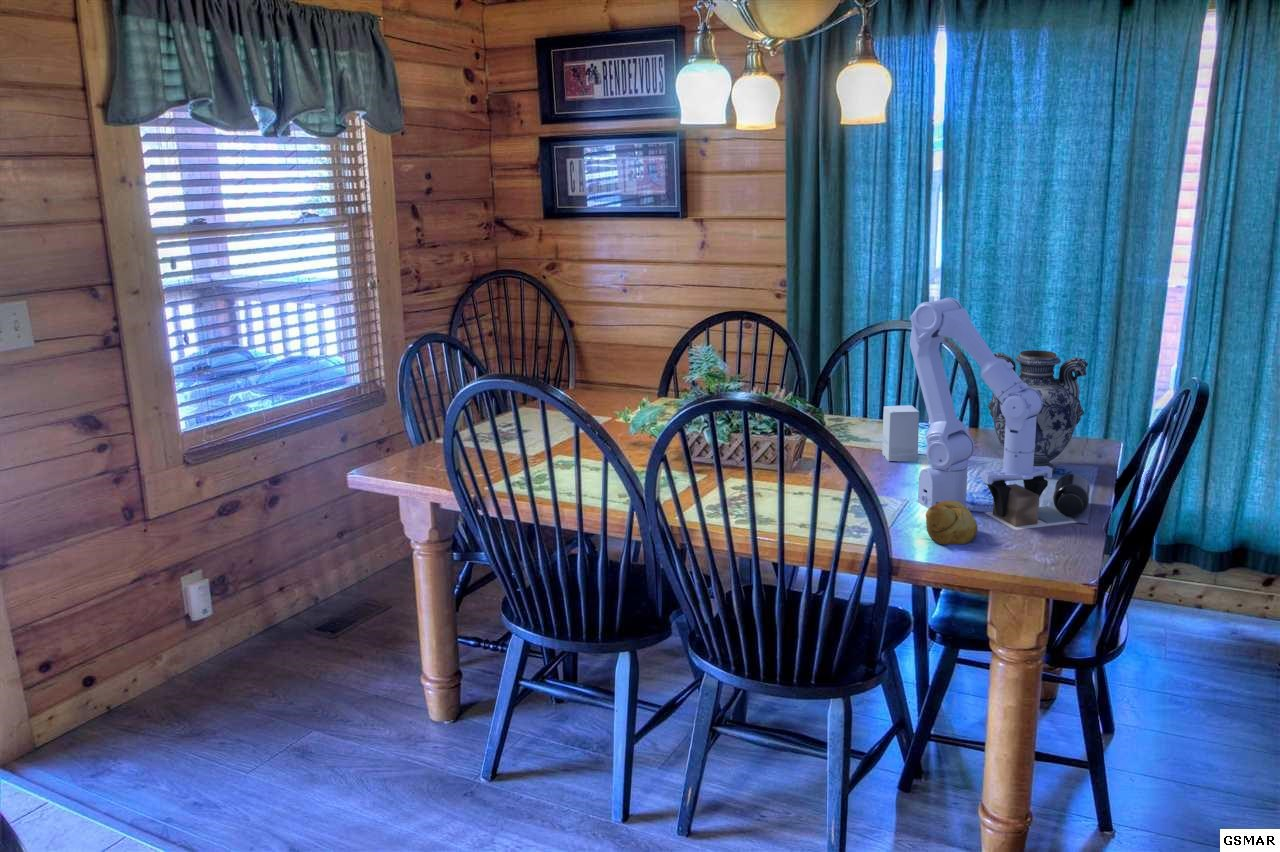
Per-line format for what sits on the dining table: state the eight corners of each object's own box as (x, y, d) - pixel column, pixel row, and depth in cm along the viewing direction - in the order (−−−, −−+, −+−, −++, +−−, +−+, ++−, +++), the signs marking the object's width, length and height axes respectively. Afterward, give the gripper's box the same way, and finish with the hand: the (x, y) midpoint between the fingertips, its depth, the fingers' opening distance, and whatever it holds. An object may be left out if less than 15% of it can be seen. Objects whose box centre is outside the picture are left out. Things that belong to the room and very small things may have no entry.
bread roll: (925, 525, 209) (927, 487, 207) (975, 528, 207) (977, 490, 205) (924, 547, 197) (925, 507, 195) (977, 551, 195) (979, 511, 193)
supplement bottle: (1065, 509, 220) (1062, 527, 209) (1049, 481, 220) (1044, 498, 209) (1096, 495, 216) (1094, 513, 206) (1080, 467, 216) (1076, 483, 206)
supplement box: (918, 461, 253) (920, 411, 250) (887, 462, 253) (889, 412, 250) (911, 453, 260) (912, 404, 257) (881, 454, 260) (883, 405, 257)
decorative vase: (1081, 462, 248) (1090, 347, 240) (1078, 485, 231) (1086, 363, 224) (988, 454, 256) (994, 343, 249) (979, 476, 240) (984, 358, 233)
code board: (1014, 532, 203) (1015, 529, 203) (984, 515, 213) (984, 512, 213) (1077, 525, 206) (1077, 522, 206) (1043, 508, 217) (1043, 505, 216)
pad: (1047, 523, 206) (1047, 522, 206) (1021, 510, 214) (1022, 508, 214) (1073, 520, 207) (1073, 519, 207) (1047, 507, 215) (1047, 505, 215)
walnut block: (1015, 526, 205) (1017, 498, 203) (992, 514, 212) (994, 486, 211) (1037, 524, 206) (1039, 495, 204) (1014, 511, 213) (1015, 483, 212)
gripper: (998, 458, 200) (994, 524, 203) (1063, 451, 203) (1058, 516, 206) (978, 448, 207) (974, 513, 210) (1041, 442, 210) (1037, 505, 213)
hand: (1015, 514), depth 209 cm, fingers open, 6 cm apart
